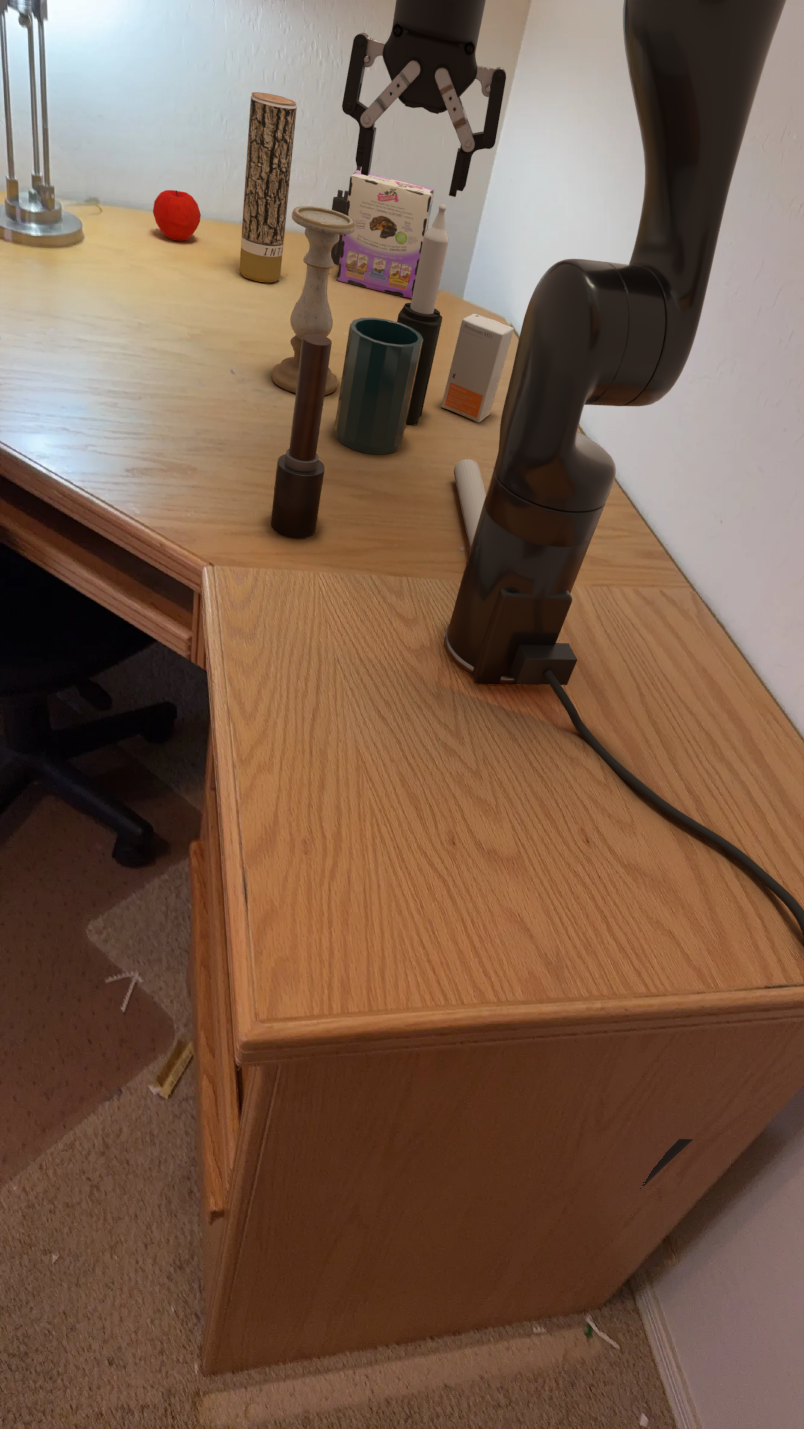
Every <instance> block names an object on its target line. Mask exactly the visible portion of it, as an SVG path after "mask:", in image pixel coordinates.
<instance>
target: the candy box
mask: <svg viewBox="0 0 804 1429" xmlns="http://www.w3.org/2000/svg"><path fill="white" fill-rule="evenodd" d="M348 183H349V184H348V190H347V191H348V199H347V207H346V214H345V215H347V216H349V217H350V218H352V219H353V220H354V222H355V230H354V232H353V233H350V234H345V235H343V237H342V246H341V253H340V261H339V265H338V268H337V275H336V281H338V282H343V283H346V284H350V285H355V286H357V287H362V288H367V289H371V290H374V291H379V292H382V293H387V294H391V295H395V296H400V297H402V298H408V299H412V296H413V291H414V285H415V280H416V275H417V270H418V265H419V259H420V254H421V249H422V244H423V239H424V234H425V233H426V231H427V230H428V229H429V222H430V218H431V212H432V206H433V202H434V196H435V188H430V187H427V186H423V185H419V184H415V183H410V182H407V181H403V180H398V179H396V178H395V179H394V178H390V177H387V176H382V175H378V174H374V173H371V172H370V173H369V175H368V176H366V175H362V174H361V170H360V171H359V170H357V171H356V170H355V171H354V172H353V173H352V174H351V175H350V176H349V182H348Z"/></svg>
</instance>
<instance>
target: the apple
mask: <svg viewBox="0 0 804 1429" xmlns="http://www.w3.org/2000/svg"><path fill="white" fill-rule="evenodd" d="M152 214H153V218H154V220H155V223H156V225H157V227H158V228H159V230H160V232H162V234H163V235H164V236H165V237H166V238H168V239H170V240H172V241H177V242H180V241H181V242H183V241H187V240H189V239H190V238H191V237H192V236H193V235H194V234H195V232H196V231H197V229H198V227H199V225H200V223H201V218H202V217H201V215H202V214H201V211H200V208H199V204H198V202H197V201H196V200H195V198H194V196H192V195H191V194H189V193H188V192H186V191H181V190H176V189H175V190H174V189H166V190H163V191H160V193H159V194H158V195H157V196H156V198H155V199H154V202H153V208H152Z"/></svg>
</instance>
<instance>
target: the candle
mask: <svg viewBox="0 0 804 1429" xmlns="http://www.w3.org/2000/svg"><path fill="white" fill-rule="evenodd" d="M446 210H447V207H446V205H445V204H444V203H440V204H439V205H438V212H437V213H436V216H435V218H434V220H433V222H432V223H431V226H430V227H428V230H427V231H426V233H425V234H424V239H423V244H422V249H421V254H420V259H419V265H418V270H417V275H416V280H415V285H414V291H413V296H412V298H411V301H410V302H407V303H404V305H403V306H402V308H401V309H400V311H399V312H398V314H397V320H396V322H399V323H402V324H404V325H406V326H409V327H411V328H413V329H414V330H416V331H417V332H419V333H420V334H421V336H422V338H423V344H422V349H421V353H420V358H419V363H418V368H417V373H416V378H415V382H414V387H413V392H412V397H411V402H410V407H409V411H408V416H407V421H406V425H409V426H414V425H417V424H418V422H419V418H420V417H421V416H422V414H423V410H424V405H425V400H426V396H427V392H428V386H429V382H430V378H431V374H432V370H433V369H432V368H433V364H434V358H435V354H436V349H437V345H438V341H439V336H440V332H441V326H442V322H443V316H442V315H441V312H440V310H438V309H437V308H436V301H437V298H438V293H439V288H440V284H441V278H442V275H443V269H444V265H445V260H446V255H447V251H448V245H449V235H448V233H447V230H446V219H445V212H446Z"/></svg>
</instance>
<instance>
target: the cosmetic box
mask: <svg viewBox="0 0 804 1429" xmlns="http://www.w3.org/2000/svg"><path fill="white" fill-rule="evenodd" d="M514 331H515V328H514V327H512V326H509V325H507V324H504V323H502V322H499V321H498V320H495V319H492V318H488V317H485V316H483V315H480V314H477V313H475V312H474V313H472V314H470V315H468V316H466V317H464V318H462V320H461V323H460V327H459V332H458V336H457V338H456V339H457V340H456V344H455V348H454V352H453V356H452V361H451V364H450V369H449V373H448V377H447V381H446V384H445V388H444V393H443V398H442V402H441V408H443V409H446V410H449V411H451V412H453V413H456V414H458V415H460V416H463V417H464V418H467V419H470V420H472V421H474V422H476V423H480V422H482V421H483V420H484V419H486V418H487V417H489V416H490V415H491V412H492V409H493V406H494V402H495V400H496V394H497V391H498V388H499V386H500V385H499V384H500V381H501V378H502V373H503V370H504V366H505V362H506V359H507V356H508V352H509V348H510V345H511V342H512V339H513V335H514Z"/></svg>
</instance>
